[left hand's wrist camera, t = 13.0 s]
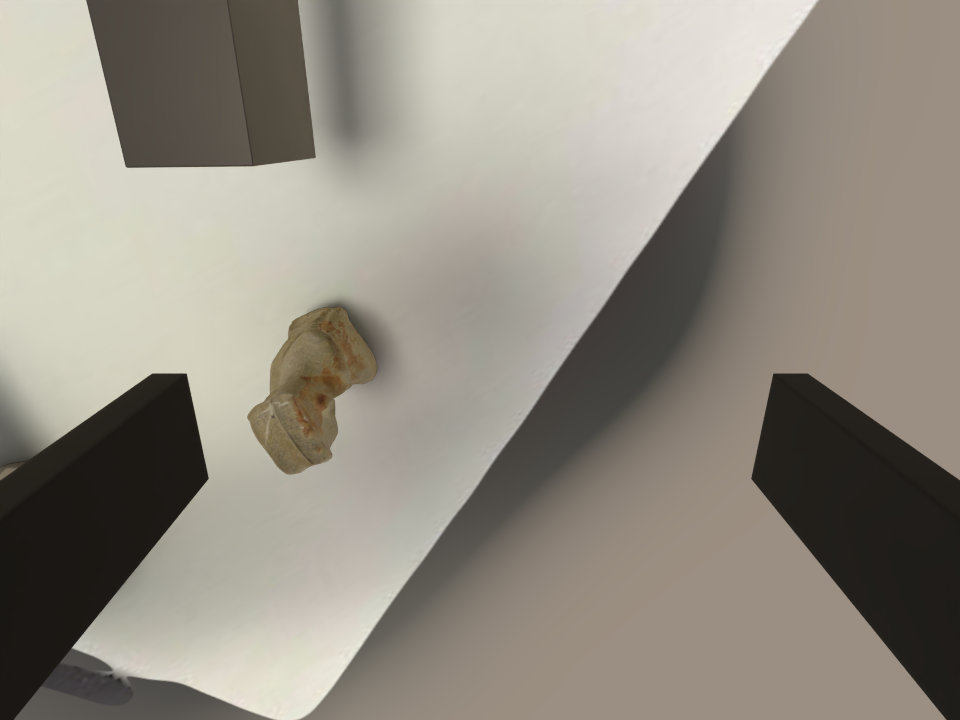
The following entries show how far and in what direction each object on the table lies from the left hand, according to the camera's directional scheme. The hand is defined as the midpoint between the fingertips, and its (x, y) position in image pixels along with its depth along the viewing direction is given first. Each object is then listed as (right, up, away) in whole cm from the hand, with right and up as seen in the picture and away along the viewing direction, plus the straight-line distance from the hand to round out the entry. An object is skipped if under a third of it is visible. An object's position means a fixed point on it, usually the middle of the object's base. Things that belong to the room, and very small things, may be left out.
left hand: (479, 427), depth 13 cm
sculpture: (-12, +3, +33) cm, 35 cm away
